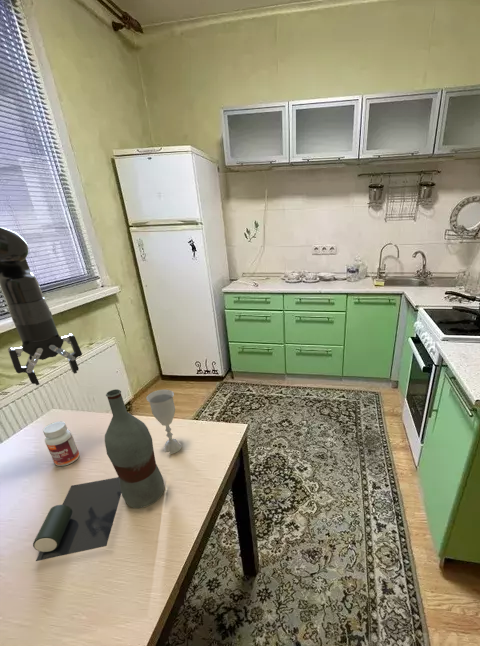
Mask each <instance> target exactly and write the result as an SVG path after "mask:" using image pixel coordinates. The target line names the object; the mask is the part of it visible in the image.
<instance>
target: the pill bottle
mask: <svg viewBox="0 0 480 646" xmlns="http://www.w3.org/2000/svg"><path fill="white" fill-rule="evenodd" d="M42 433H43V435H44V443H45V445H46V447H47V450H48V451H49V455H50V456H51V458H52V461H53V463H54V465H56V466H58V467H65V466H68V465H70V464H73V463H74V462H76V461H77V460H78V459H79V457H80V452H79V449H78V446H77V444H76V441H75V439H74V436H73V434H72V432H71V430H69V429H68V427H67V424H66V422H65V421H54V422H52V423H49V424H47V425H46V426H44V427H43V429H42Z"/></svg>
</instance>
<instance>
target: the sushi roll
mask: <svg viewBox="0 0 480 646" xmlns="http://www.w3.org/2000/svg"><path fill="white" fill-rule="evenodd" d="M71 515H72V509H71V508H70V507H68V506H66V505H62V504H57V505H54V506H52V507H51V508H50V509H49V511H48V513H47V515H46V516H45V518H44V520H43V523H42V525H41V527H40V529H39V531H38V532H37V534H36V537H35V538H34V539H33V540H34V541H33V543H32V547H33V548H34V550H36V551H38V552H40V551H41V552H50V551H53V550H55V549H56V548H57V547H58V546H59V543H60V541H61V539H62V536H63V534H64V532H65V529H66V527H67V525H68V522H69V520H70V518H71Z"/></svg>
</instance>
